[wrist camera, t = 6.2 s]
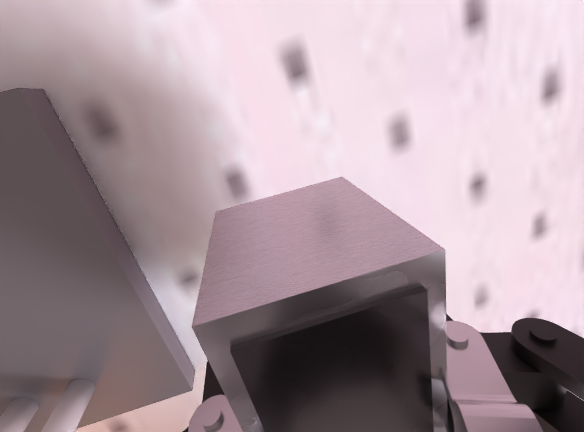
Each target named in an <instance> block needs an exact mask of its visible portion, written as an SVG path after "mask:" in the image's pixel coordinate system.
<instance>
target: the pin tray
mask: <svg viewBox="0 0 584 432" xmlns="http://www.w3.org/2000/svg"><path fill="white" fill-rule="evenodd" d="M194 375H195V369H194V367H193V365H192V363H191V361H190V359H189V358H188V356H187V354H186V352H185V350H184V348H183V346H182V345H181V343H180V341H179V339H178V337H177V335H176V334H175V332H174V330H173V328H172V326H171V324H170V323H169V321H168V319H167V317H166V315H165V313H164V311H163V310H162V308H161V306H160V304H159V302H158V300H157V299H156V297H155V295H154V293H153V291H152V289H151V288H150V286H149V284H148V282H147V280H146V278H145V276H144V275H143V273H142V271H141V269H140V267H139V265H138V264H137V262H136V260H135V258H134V256H133V254H132V253H131V251H130V249H129V247H128V245H127V243H126V242H125V240H124V238H123V236H122V234H121V232H120V230H119V229H118V227H117V225H116V223H115V221H114V219H113V218H112V216H111V214H110V212H109V210H108V208H107V207H106V205H105V203H104V201H103V199H102V197H101V195H100V194H99V192H98V190H97V188H96V186H95V184H94V183H93V181H92V179H91V177H90V175H89V173H88V172H87V170H86V168H85V166H84V164H83V162H82V160H81V159H80V157H79V155H78V153H77V151H76V149H75V148H74V146H73V144H72V142H71V140H70V138H69V137H68V135H67V133H66V131H65V129H64V127H63V125H62V124H61V122H60V120H59V118H58V116H57V114H56V113H55V111H54V109H53V107H52V105H51V103H50V102H49V100H48V98H47V96H46V94H45V92H44V90H43V89H28V88H17V89H12V90H8V91H4V92H0V432H75V430H76V429H77V428H80V427H83V426H86V425H89V424H92V423H95V422H98V421H101V420H104V419H107V418H110V417H113V416H116V415H119V414H122V413H125V412H128V411H131V410H134V409H138V408H141V407H144V406H147V405H150V404H153V403H156V402H159V401H162V400H165V399H168V398H171V397H174V396H177V395H180V394H183V393H186V392H189V391H192V389H193V382H194Z"/></svg>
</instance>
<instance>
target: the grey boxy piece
mask: <svg viewBox="0 0 584 432" xmlns="http://www.w3.org/2000/svg"><path fill="white" fill-rule="evenodd" d="M192 328H193V330H194V332H195V334H196V337H197V339H198V341H199V343H200V345H201V347H202V349H203V351H204V353H205V355H206V357H207V359H208V361H209V363H210V365H211V367H212V369H213V371H214V373H215V375H216V377H217V380H218V382H219V384H220V386H221V388H222V390H223V392H224V394H225V396H226V398H227V400H228V402H229V404H230V406H231V408H232V410H233V412H234V414H235V416H236V418H237V420H238V422H239V425H240V427H241V429H242V431H243V432H444V430H443V418H444V417H447V395H446V392H445V389H444V385H443V382H442V368H444V367H447V347H446V271H445V249H444V248H442V247H441V246H440V245H438V244H437V243H435V242H434V241H433V240H431V239H430V238H428V237H427V236H425V235H424V234H423V233H421V232H420V231H418V230H417V229H416V228H414V227H413V226H411V225H410V224H408V223H407V222H406V221H404V220H403V219H401V218H400V217H399V216H397V215H396V214H394V213H393V212H391V211H390V210H389V209H387V208H386V207H384V206H383V205H382V204H380V203H379V202H377V201H376V200H374V199H373V198H372V197H370V196H369V195H367V194H366V193H365V192H363V191H362V190H360V189H359V188H357V187H356V186H355V185H353V184H352V183H350V182H349V181H348V180H346V179H345V178H343V177H339V178H336V179H332V180H329V181H325V182H321V183H318V184H314V185H310V186H307V187H303V188H300V189H296V190H292V191H289V192H285V193H282V194H278V195H274V196H271V197H267V198H263V199H260V200H256V201H253V202H249V203H245V204H242V205H238V206H235V207H231V208H227V209H224V210H220V211H216V213H215V217H214V222H213V227H212V232H211V237H210V241H209V246H208V251H207V256H206V261H205V265H204V270H203V275H202V280H201V285H200V289H199V294H198V299H197V304H196V309H195V313H194V318H193V323H192Z"/></svg>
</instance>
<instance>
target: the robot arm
mask: <svg viewBox="0 0 584 432" xmlns="http://www.w3.org/2000/svg"><path fill="white" fill-rule="evenodd" d="M446 347H447V367H444V368H442V382H443V385H444V389H445V392H446V395H447V417H444V418H443V430H444V432H584V401H583V400H584V338H582V337H580V336H578V335H576V334H574V333H572V332H570V331H568V330H566V329H564V328H563V327H561V326H559V325H557V324H554V323H552V322H549V321H546V320H543V319H537V318H524V319H520V320H518V321H516V322H515V323H514V324H513V326H512V331H511V332H502V333H481V332H478V331H477V330H476V329H474V328H473V327H471V326H469V325H467V324H465V323H462V322H458V321H453V320H452V319H451V318H450V317H449V316H448V315H447V314H446ZM207 360H208V359H207ZM568 390H569V391H570V392H569V391H568ZM571 392H572V393H573V394H572V393H571ZM574 394H575V395H576V396H575V395H574ZM577 396H578V397H579V398H578V397H577ZM580 398H581V399H582V400H581V399H580ZM183 432H243V431H242V429H241V427H240V425H239V422H238V420H237V418H236V416H235V414H234V412H233V410H232V408H231V406H230V404H229V402H228V400H227V398H226V396H225V394H224V392H223V390H222V388H221V386H220V384H219V382H218V380H217V377H216V375H215V373H214V371H213V369H212V367H211V365H210V363H209V361H208V362H207V367H206V376H205V384H204V392H203V400H202V404H201V405H200V406H199V407H198V408H197V409H196V411H195V412H194V414H193V416H192V417H191V420H190V423H189V427H188V428H186V429H185V430H184V431H183Z"/></svg>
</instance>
